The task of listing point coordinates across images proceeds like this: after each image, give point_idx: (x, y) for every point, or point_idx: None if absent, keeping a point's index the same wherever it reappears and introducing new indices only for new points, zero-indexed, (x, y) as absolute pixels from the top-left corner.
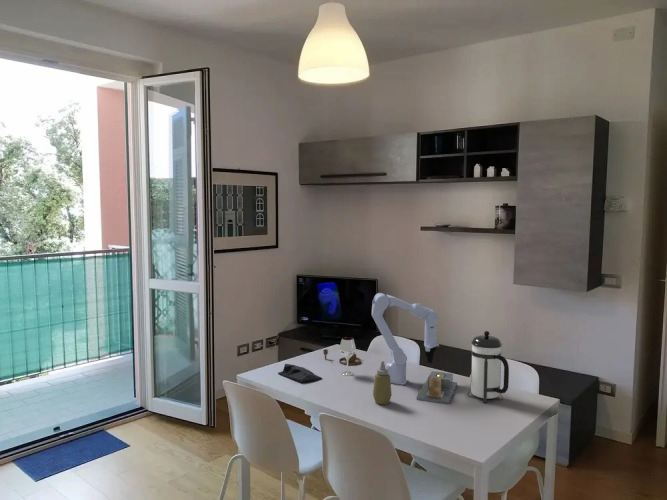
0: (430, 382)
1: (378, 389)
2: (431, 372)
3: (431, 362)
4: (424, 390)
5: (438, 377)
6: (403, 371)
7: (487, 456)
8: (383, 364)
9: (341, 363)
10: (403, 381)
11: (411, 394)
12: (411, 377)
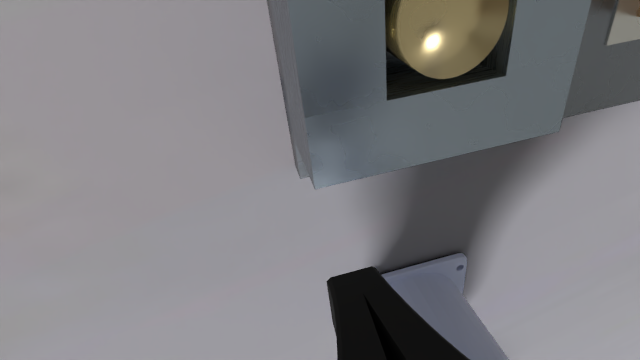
0: None
1: None
2: (370, 172)
3: (379, 275)
4: (617, 76)
5: (543, 18)
6: (490, 345)
7: None
8: None
9: None
10: (443, 279)
11: (628, 138)
12: (274, 294)
